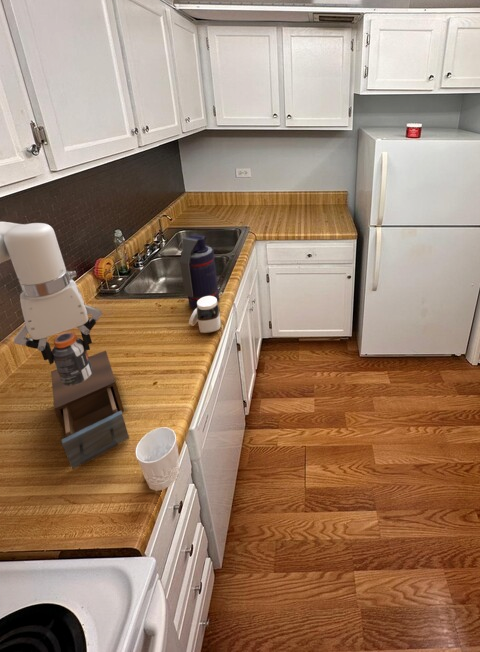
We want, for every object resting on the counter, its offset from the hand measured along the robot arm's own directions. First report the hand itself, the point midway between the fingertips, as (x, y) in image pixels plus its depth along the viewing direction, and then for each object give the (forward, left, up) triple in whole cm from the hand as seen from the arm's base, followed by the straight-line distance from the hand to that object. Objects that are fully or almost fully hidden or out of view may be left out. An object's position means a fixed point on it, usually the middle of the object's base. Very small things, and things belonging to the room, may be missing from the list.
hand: (69, 352), depth 74 cm
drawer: (+1, -3, -25) cm, 25 cm away
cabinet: (-3, +10, -26) cm, 28 cm away
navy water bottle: (+27, +50, -26) cm, 62 cm away
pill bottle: (0, 0, -7) cm, 7 cm away
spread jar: (+27, +35, -26) cm, 51 cm away
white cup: (+17, -16, -26) cm, 35 cm away
